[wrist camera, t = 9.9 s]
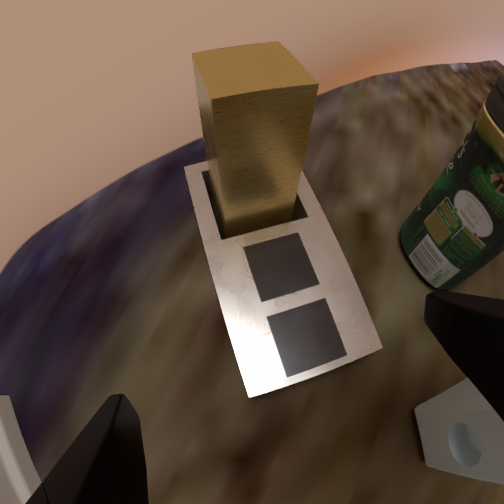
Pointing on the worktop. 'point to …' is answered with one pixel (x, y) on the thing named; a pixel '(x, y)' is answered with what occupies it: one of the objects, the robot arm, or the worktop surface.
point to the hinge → (14, 459)
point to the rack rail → (284, 293)
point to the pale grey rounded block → (462, 434)
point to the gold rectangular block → (254, 131)
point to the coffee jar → (463, 205)
